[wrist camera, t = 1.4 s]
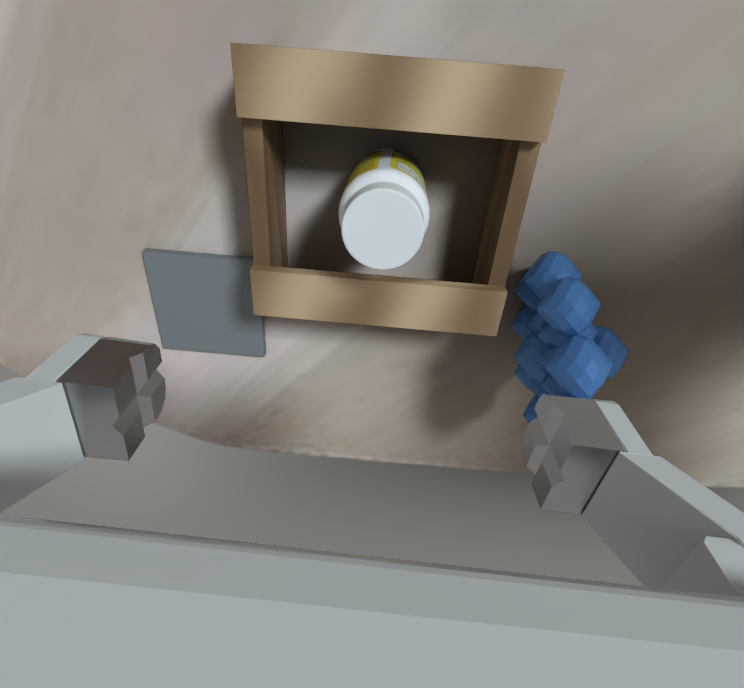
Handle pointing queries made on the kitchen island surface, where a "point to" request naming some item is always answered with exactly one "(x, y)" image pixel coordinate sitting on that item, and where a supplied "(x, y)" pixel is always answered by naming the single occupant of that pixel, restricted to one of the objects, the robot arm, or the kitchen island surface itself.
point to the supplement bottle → (384, 209)
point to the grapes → (562, 334)
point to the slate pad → (204, 302)
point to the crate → (393, 112)
